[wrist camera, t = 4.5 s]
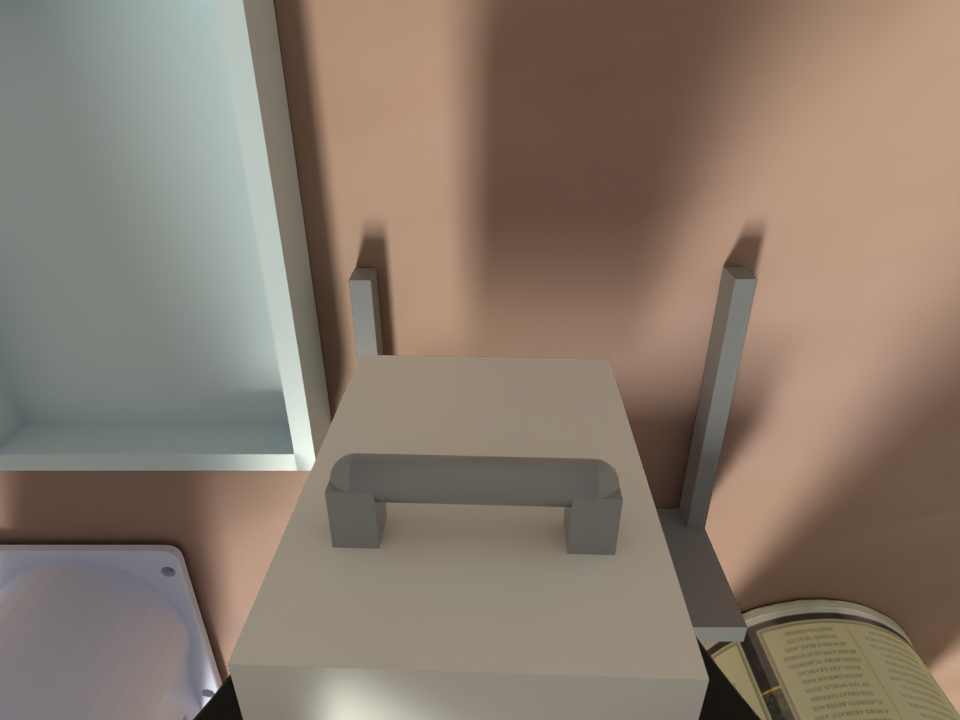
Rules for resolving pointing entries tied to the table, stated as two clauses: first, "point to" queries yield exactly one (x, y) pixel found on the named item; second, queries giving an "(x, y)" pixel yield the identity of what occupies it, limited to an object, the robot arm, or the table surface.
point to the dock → (686, 524)
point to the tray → (152, 242)
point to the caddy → (473, 558)
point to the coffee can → (829, 665)
